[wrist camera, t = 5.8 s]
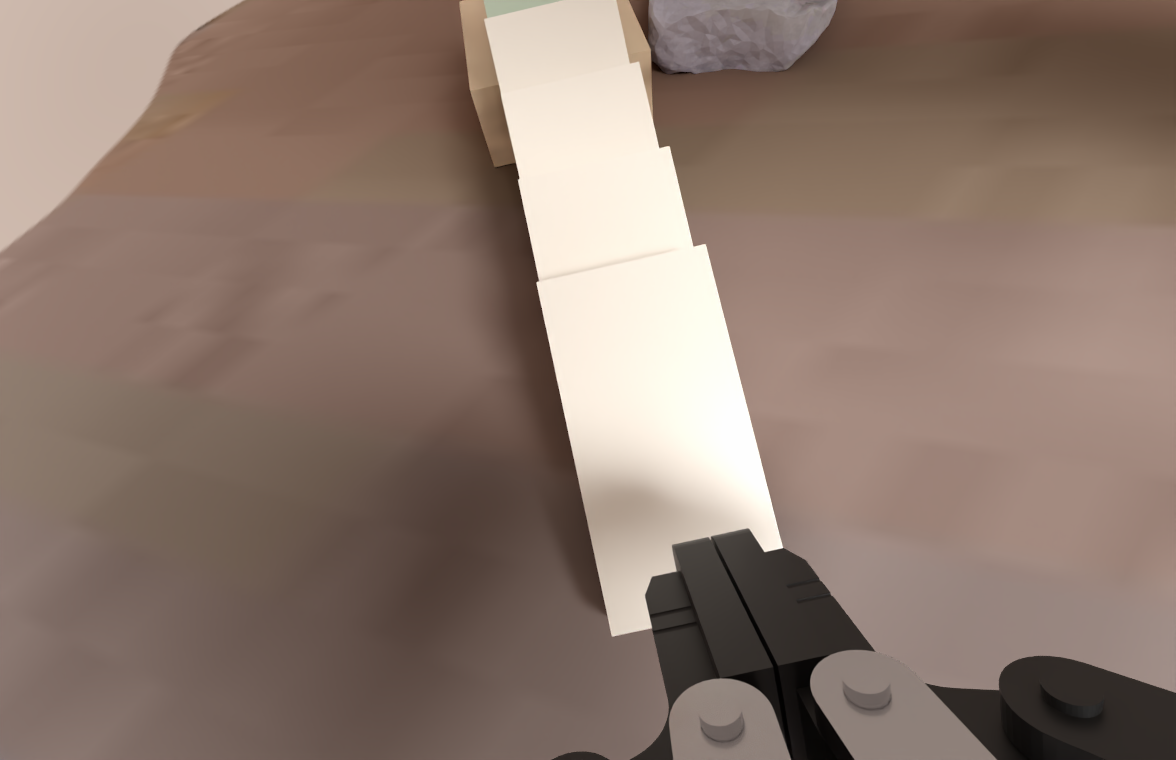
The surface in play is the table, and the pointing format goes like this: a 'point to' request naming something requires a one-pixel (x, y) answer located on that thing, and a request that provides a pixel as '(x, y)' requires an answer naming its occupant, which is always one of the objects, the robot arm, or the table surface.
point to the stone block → (734, 33)
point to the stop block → (486, 79)
